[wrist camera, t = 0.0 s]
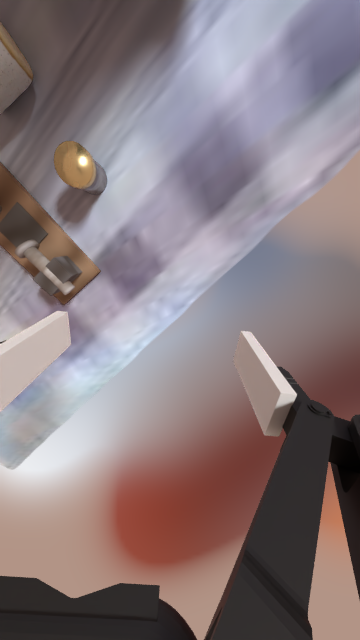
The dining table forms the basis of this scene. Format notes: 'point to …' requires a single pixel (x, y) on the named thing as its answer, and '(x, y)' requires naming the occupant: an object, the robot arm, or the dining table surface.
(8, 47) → the ceramic mug
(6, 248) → the shaft bench
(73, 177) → the knob
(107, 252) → the dining table surface
